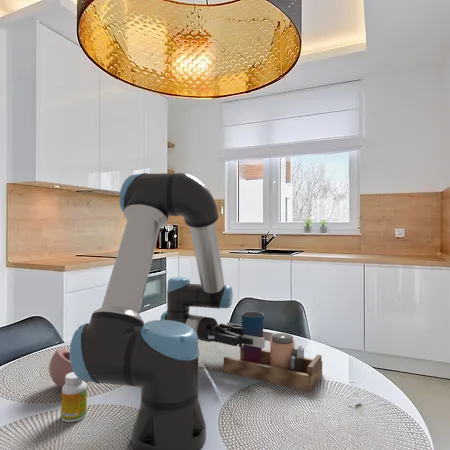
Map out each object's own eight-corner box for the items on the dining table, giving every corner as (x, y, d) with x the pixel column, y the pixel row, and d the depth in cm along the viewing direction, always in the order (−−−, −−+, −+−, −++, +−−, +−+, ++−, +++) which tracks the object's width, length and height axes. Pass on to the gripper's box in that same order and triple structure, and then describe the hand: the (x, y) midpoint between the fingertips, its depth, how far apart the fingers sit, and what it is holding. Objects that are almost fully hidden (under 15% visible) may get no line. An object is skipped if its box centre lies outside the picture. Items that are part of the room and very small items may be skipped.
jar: (298, 378, 101) (299, 339, 100) (276, 381, 99) (276, 341, 99) (287, 369, 107) (288, 331, 107) (266, 371, 105) (266, 333, 105)
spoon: (360, 387, 98) (360, 381, 98) (375, 430, 78) (375, 422, 78) (344, 386, 99) (344, 380, 99) (355, 427, 79) (355, 420, 79)
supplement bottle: (83, 422, 80) (84, 379, 80) (58, 424, 79) (58, 380, 79) (88, 409, 85) (89, 369, 85) (65, 411, 84) (65, 370, 84)
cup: (254, 370, 103) (254, 318, 103) (236, 363, 107) (236, 314, 107) (268, 363, 108) (268, 313, 108) (250, 357, 112) (250, 310, 112)
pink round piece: (99, 391, 94) (99, 348, 94) (48, 401, 88) (49, 355, 88) (94, 374, 105) (94, 335, 105) (49, 382, 99) (49, 341, 99)
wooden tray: (223, 374, 105) (223, 351, 105) (241, 360, 116) (242, 339, 116) (310, 395, 93) (311, 368, 93) (322, 377, 104) (322, 353, 104)
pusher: (290, 383, 97) (290, 351, 97) (300, 371, 105) (300, 342, 105) (294, 384, 96) (294, 352, 96) (303, 371, 105) (304, 342, 104)
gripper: (216, 332, 124) (279, 343, 113) (185, 348, 108) (255, 363, 97) (216, 310, 124) (279, 319, 113) (185, 323, 108) (255, 335, 97)
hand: (268, 339), depth 105 cm, fingers closed on cup, 6 cm apart
